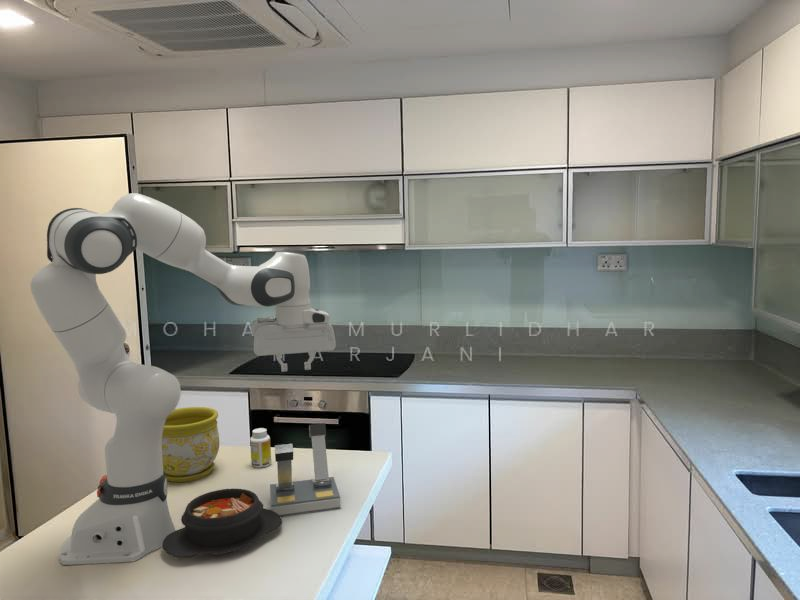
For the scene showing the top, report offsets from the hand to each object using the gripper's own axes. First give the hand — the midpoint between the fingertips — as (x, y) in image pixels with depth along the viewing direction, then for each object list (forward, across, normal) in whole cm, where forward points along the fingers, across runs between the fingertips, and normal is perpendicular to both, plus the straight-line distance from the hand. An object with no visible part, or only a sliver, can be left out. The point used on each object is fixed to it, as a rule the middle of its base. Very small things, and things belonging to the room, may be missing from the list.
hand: (296, 370), depth 150 cm
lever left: (+27, -4, -8) cm, 29 cm away
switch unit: (+31, 0, -8) cm, 32 cm away
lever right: (+27, +5, -8) cm, 29 cm away
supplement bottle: (+31, -10, +20) cm, 39 cm away
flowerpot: (+31, -30, +20) cm, 48 cm away
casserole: (+31, -18, -21) cm, 42 cm away
